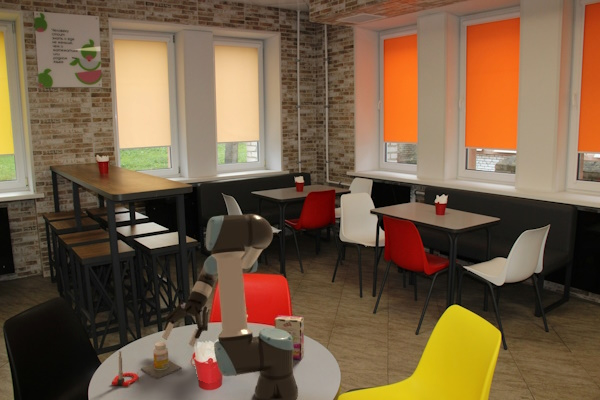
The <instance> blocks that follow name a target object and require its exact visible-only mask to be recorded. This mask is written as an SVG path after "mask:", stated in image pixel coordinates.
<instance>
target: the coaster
mask: <svg viewBox="0 0 600 400" xmlns="http://www.w3.org/2000/svg"><path fill="white" fill-rule="evenodd" d="M168 364H169V366H168V368H167V369H165V370H156V369H155V368H154V362H152V363H151V364H148V365H145V366H142V367H141V368H140V369H141V370H142V371H144V372H145V373H147V374H149V375H150V376H151V377H153V378H154V379H156V380H157V379H161V378H163V377H165V376H167V375H170V374H172V373H175V372H177V371H181V370H182V368H183V367H182V366H180V365H178V364H177V363H175V362H173V361H172V360H169V359H168Z"/></svg>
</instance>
